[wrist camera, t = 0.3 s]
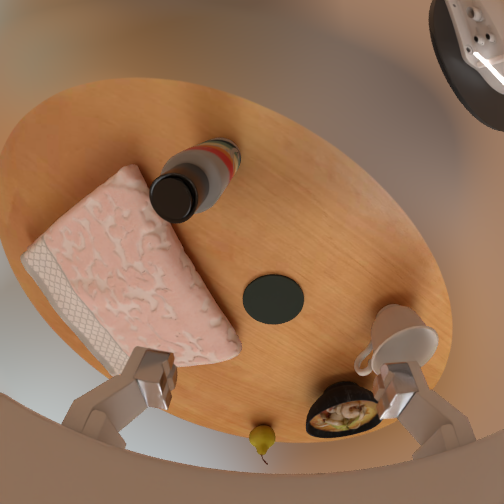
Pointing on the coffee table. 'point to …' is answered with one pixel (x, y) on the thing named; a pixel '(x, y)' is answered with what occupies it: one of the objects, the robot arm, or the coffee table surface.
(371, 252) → the coffee table surface
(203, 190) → the lotion bottle
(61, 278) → the towel
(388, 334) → the teacup
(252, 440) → the fruit
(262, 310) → the coaster
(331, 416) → the bowl
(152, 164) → the coffee table surface
